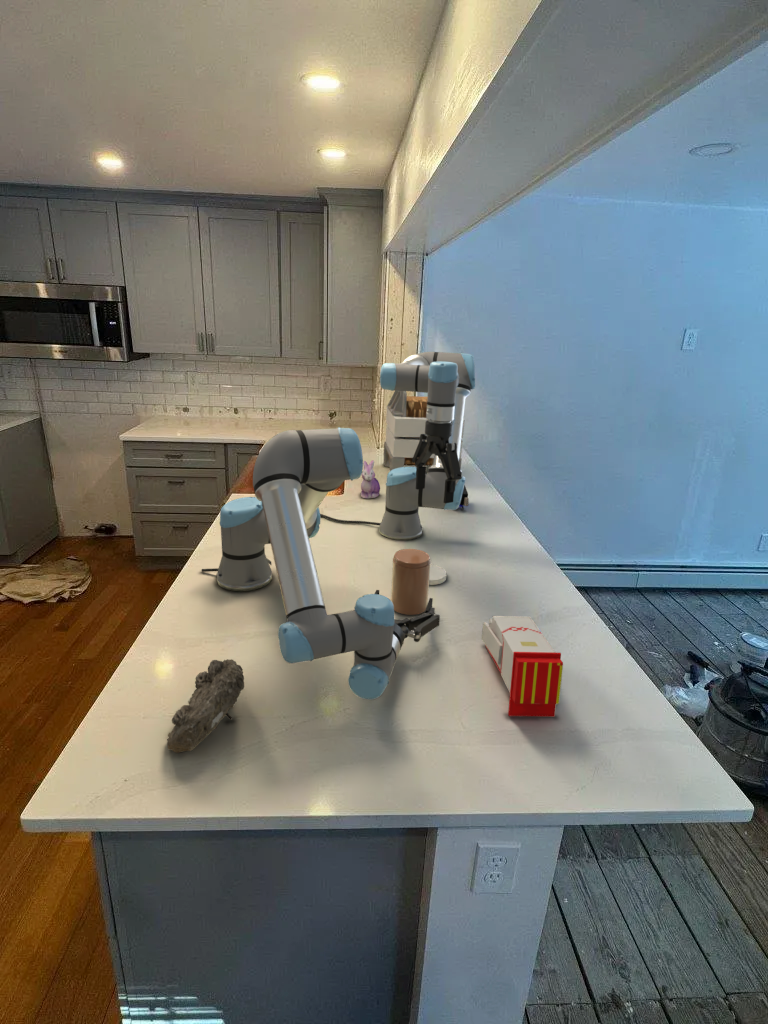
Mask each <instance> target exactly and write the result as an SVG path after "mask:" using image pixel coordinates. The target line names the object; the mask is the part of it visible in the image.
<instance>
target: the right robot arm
mask: <svg viewBox="0 0 768 1024" xmlns="http://www.w3.org/2000/svg"><path fill="white" fill-rule="evenodd" d="M475 363H476V362H475V357H474V355H473V354H470V353H463V352H445V351H424V352H419V353H415V354H412V355H409V356H408V357H406V358H405V359H404V360H403V362H399V363H396V362H384V363H383V364H382V365H381V367H380V372H379V384H380V387H381V389H382V390H385V391H387V390H388V391H391V392H395V391H406V392H412V393H413V392H415V393H426V394H427V396H426V397H427V411H426V419H427V421H426V422H425V434H421V435H420V441H419V444H418V446H417V449H416V451H415V454H414V456H413V459H412V462H413V463H415V465H416V466H404V467H400V468H396V469H393V470H391V471H390V470H389V472H388V473H387V475H386V482H385V504H384V505H385V507H384V508H385V509H384V513H383V515H382V519H381V522H375V521H365V520H346V519H345V520H344V519H338V518H335V517H331V516H329V515H326V514H322V513H320V518H323V519H327V520H329V521H332V522H336V523H342V524H361V525H372V526H379V527H378V533H379V534H380V535H381V536H382V537H385V538H387V539H389V540H395V541H410V540H415V539H418V538H420V537H421V536H422V535H423V525H422V524H421V518H420V515H419V508H427V509H437V510H443V511H446V510H449V511H457V510H458V509H459V508H460V507H459V505H460V502H461V498H462V494H463V490H464V485H465V484H466V477H465V476H463V470H462V469H461V470H460V465H459V454H460V445H461V440H462V438H461V435H462V426H463V419H464V417H465V416H464V415H465V406H466V398H467V397H469V396H470V395H471V392H472V390H474V389H476V364H475ZM432 454H434V462H433V465H430V466H428V469H427V466H426V462H427V461H428V459H429V458H430V457H431V455H432ZM465 486H466V485H465ZM250 497H251V498H252V497H253V496H250ZM456 509H457V510H456Z"/></svg>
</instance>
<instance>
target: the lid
mask: <svg viewBox="0 0 768 1024" xmlns="http://www.w3.org/2000/svg"><path fill="white" fill-rule="evenodd" d="M446 580H447V571H446V569H445V568H444V567H442V566H439V565H437V564H432V563H431V565H430V578H429V586H435V585H440V584H443V583H445V581H446Z"/></svg>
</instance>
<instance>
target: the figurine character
mask: <svg viewBox="0 0 768 1024" xmlns="http://www.w3.org/2000/svg"><path fill="white" fill-rule="evenodd" d="M469 502H470V501H469V492H468V490H467V487H466V485H464V490H463V494H462V498H461V502H460V505H459V507H458V508H461V510H462V511H464V510H465V507H468V506H469ZM458 508H457V509H456V510H455V511H457V510H458Z"/></svg>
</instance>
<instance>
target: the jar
mask: <svg viewBox="0 0 768 1024" xmlns="http://www.w3.org/2000/svg"><path fill="white" fill-rule="evenodd" d="M431 564H432V561H431V556H430V554H429V553H428V552H426V551H424V550H421V549H417V548H403V549H400V550H397V551H396V552H395V553H394V555H393V558H392V567H391V569H392V571H391V588H390V600H391V601H392V603H393V605H394V612H396V613H398V614H401V615H405V616H406V615H407V616H415V615H416V616H417V615H421V614H424V613H425V610H426V607H427V604H428V601H429V591H430V590H429V589H430V585H429V578H430V565H431Z"/></svg>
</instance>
